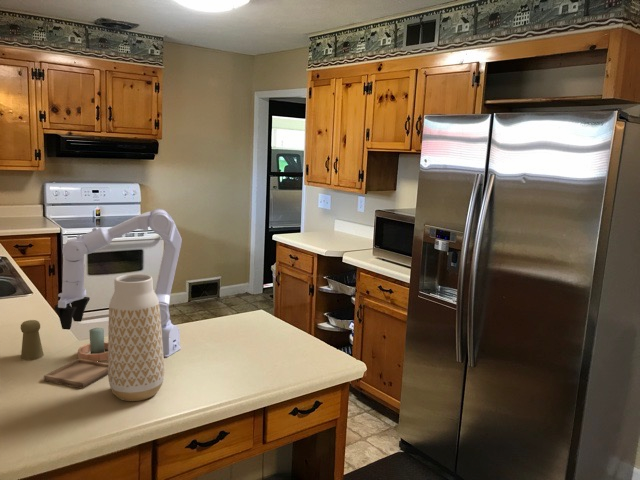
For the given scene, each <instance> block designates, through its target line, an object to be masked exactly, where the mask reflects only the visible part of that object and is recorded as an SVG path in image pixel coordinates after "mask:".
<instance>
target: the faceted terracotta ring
mask: <svg viewBox="0 0 640 480" xmlns="http://www.w3.org/2000/svg"><path fill="white" fill-rule="evenodd" d="M104 347H105V350H106V351H105V352H103V353H99V354H90V353H88V352H90V343H87V344H84V345H82V346H80V347H79V348H78V349H77V359H79V358H80V359H86V360H91V361H99V362H103V361H108V341H104Z"/></svg>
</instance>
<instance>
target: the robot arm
mask: <svg viewBox="0 0 640 480" xmlns="http://www.w3.org/2000/svg"><path fill="white" fill-rule="evenodd" d="M91 229H92V230H91V231H89V232H87V233H85V234H82V235H80V234H78V235H77V236H75V238H70V239H69V240H67V241H66V242H65V244H64V245H63V247H62V255H63V264H62V284H61V285H62V287H61V290H62V291H61V292H60V293H58V295H57V297H59V300H58V301H57V302H58V303H57V304H55V305H54V308H53V309H54V310H55V312H56V313H57V316H58V318H59V321H60V326H61V330H67V331H69V330H70V329H71V328H72V323H73V322H79V323H81V322H82V320H83V317H84V312H85V311H86V307H87V305H88V304H89V302H90V298H91V297H89V296H87V289H86V288H85V263H84V261H85V260H84V259H85V255H90V254H92V253H95V252H97V251H98V250H99V251H100V250H101V249H104V248H106V247H108V246H111V243H112V240H113V239H116V238H119V237H121V236H124V235H126V234H129V233H132V232H135V231H137V230H141V231H142V230H143V231H149V229H151V231H153V232H154V233H155V234H157V235H158V236H159V237H160V238H161V239H162V240H163V242H164V247H163V252H162V253H163V254H162V257H161V261H160V266H159V267H160V268H159V271H158V275H157V276H158V277H157V281H156V284H155V285H156V286H155V290H154V292H155V294H156V295H157V297H158V300H159V306H160V317H161V329H162V342H163V354H164V357H165V358H168V357H170V356H171V355H173V354H174V353H177V352H178V351H180V350H181V349H182V347H181V345H180V343H181V338H180V337H181V335H180V334H181V333H180V328H179V326H178V325H175V324H173V323H172V320H171V319H170V317H171V315H170V314H171V313H170V310H169V308H170V300H171V292H172V288H173V284H174V279H175V275H176V269H177V267H178V265H177V264H178V261H179V255H180V252H181V247H182V241H183V239H182V237H181V234H180V232H179V230H178V227H177V226H176V222H175V221H174V219H173V217H172V216H171V215H170V214H169V213H168V212H167V211H166V210H165V209H162V208H156V209H154V210H151V211H146V212H143V213H140V214H139V215H138V214H137V215H135V216H134V217H131V218H129V219H127V220H125V221H122V222H121V223H119V224H116V225H114V226H112V227H110V228H104V227H99V228H98V227H96V226H95V227H93V228H91Z"/></svg>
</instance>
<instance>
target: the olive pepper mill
mask: <svg viewBox="0 0 640 480" xmlns="http://www.w3.org/2000/svg"><path fill="white" fill-rule="evenodd" d="M40 329H41V323H40V321H38V320H37V319H29V320H25V321H23V322H22V323H21V324H20V330H21V332H22V340H21V341H22V342H21V351H20V353H21V355H20V358H21V360H23V361H34V360H39V359H41V358H43V357H44V355H45V353H44V350H43V346H42V341H41V337H40V333H39V331H40Z"/></svg>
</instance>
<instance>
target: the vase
mask: <svg viewBox="0 0 640 480" xmlns="http://www.w3.org/2000/svg"><path fill="white" fill-rule="evenodd" d="M113 280H114V282H113V283H114V292H113V293H112V296H111V298H110V301H109V304H108V305H109V306H108V326H107V327H108V333H107V334H108V336H107V337H108V338H107V342H108V350H107V351H108V360H107V363H108V375H107V377H108V378H107V379H108V383H109V388H110V390H111V391H112V393H113V394H114V395H115V396H116V397H117V398H118V399H120V400H121V401H127V402H139V401H144V400H147V399H150V398H152V397H154V396H155V395H156V394H157V393H158V392H159V391H160V390H161V388H162V385H163V383H164V378H165V359H164V354H163V342H162V329H161V317H160V306H159V300H158V297H157V295H156V294H155V290H154V281H153V276H152V275H149V274H145V273H130V274H123V275H118V276H117V277H115V278H114V279H113Z"/></svg>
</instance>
